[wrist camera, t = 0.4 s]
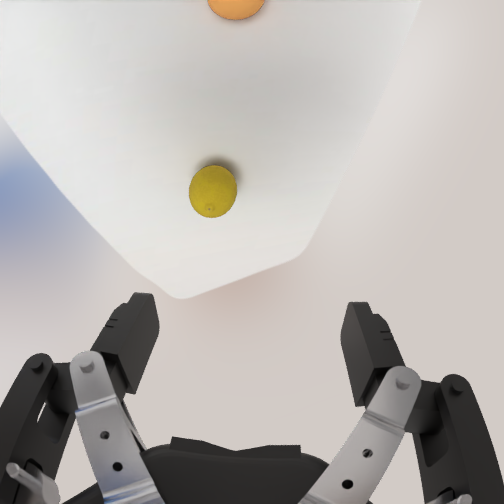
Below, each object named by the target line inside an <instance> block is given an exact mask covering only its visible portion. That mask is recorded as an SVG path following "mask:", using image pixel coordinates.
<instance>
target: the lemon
mask: <svg viewBox="0 0 504 504" xmlns="http://www.w3.org/2000/svg"><path fill="white" fill-rule="evenodd" d="M236 195H237V185H236V182H235V179H234V177H233V175H232V174H231V173H230V172H229V171H228V170H227V169H225V168H223V167H221V166H217V165H211V166H207V167H204V168H202V169H201V170H200V171H198V172H197V173H196V174H195V176H194V177H193V179H192V181H191V184H190V187H189V198H190V202H191V205H192V207H193V208H194V210H195V211H196V212H197V213H199V214H200V215H202V216H204V217H209V218H216V217H219V216H222V215H224V214H225V213H226V212H227V211H229V210H230V208H231V207H232V205H233V203H234V202H235V198H236Z"/></svg>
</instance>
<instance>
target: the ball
mask: <svg viewBox="0 0 504 504" xmlns="http://www.w3.org/2000/svg"><path fill="white" fill-rule="evenodd" d="M208 3H209V6H210V8H211V9H212V10H213V11H214V12H215V13H216V14H217V15H219V16H221V17H223V18H226V19H233V20H238V19H244V18H247V17H250V16H252V15H253V14H255V13H256V12H257V11H258V10H259V9H260V8H261V7H262V5H263V3H264V0H208Z"/></svg>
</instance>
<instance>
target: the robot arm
mask: <svg viewBox="0 0 504 504" xmlns="http://www.w3.org/2000/svg"><path fill="white" fill-rule="evenodd" d="M158 334H159V320H158V315H157V310H156V305H155V301H154V297H153V295H152V294H149V293H137V292H135V293H134V294H133V295H132V297H131V298H130V300H129V302H128V303H123V304H121V305H120V306H119V307H117V308H116V309H115V310H114V312H113V313H112V314H111V316H110V318H109V320H108V321H107V323H106V324H105V327H103V329H102V331H101V332H100V334H99V336H98V338H97V339H96V341H95V343H94V344H93V346H92V348H91V349H90V351H85V352H81V353H79V354H78V355H76V356H75V357H74V358H73V360H72V361H71V362H69V363H53V361H52V359H51V358H50V356H49V355H47V354H43V353H39V354H35V355H33V356H31V357H30V358H29V359H28V360H27V361H26V362H25V364H24V366H23V367H22V369H21V371H20V372H19V374H18V376H17V378H16V379H15V381H14V383H13V385H12V387H11V388H10V390H9V392H8V394H7V396H6V398H5V400H4V402H3V403H2V405H1V407H0V504H59V502H60V495H59V491H58V487H57V485H56V483H55V481H54V480H55V477H56V474H57V470H58V467H59V464H60V461H61V458H62V455H63V452H64V449H65V446H66V443H67V440H68V438H69V435H70V432H71V429H72V427H73V424H74V421H75V419H77V422H78V426H79V430H80V433H81V436H82V440H83V443H84V446H85V449H86V452H87V455H88V458H89V461H90V464H91V466H92V469H93V472H94V475H95V477H96V480H97V483H96V484H94V485H92V486H91V487H89V488H87V489H86V490H84V491H83V492H81V493H79V494H78V495H76V496H74V497H73V498H71V499H69V500H68V501H66V502H64V503H63V504H373V503H372V502H370V501H369V498H370V497H371V495H372V493H373V492H374V490H375V489H376V487H377V485H378V484H379V482H380V480H381V478H382V477H383V475H384V473H385V471H386V469H387V468H388V466H389V464H390V462H391V460H392V458H393V456H394V454H395V452H396V450H397V448H398V446H399V444H400V442H401V440H402V438H403V436H404V433H405V432H409V433H412V435H413V440H414V444H415V449H416V454H417V459H418V464H419V470H420V476H421V481H422V487H423V494H424V502H425V504H504V484H503V479H502V475H501V471H500V468H499V464H498V461H497V457H496V454H495V451H494V447H493V444H492V441H491V438H490V435H489V432H488V429H487V426H486V424H485V421H484V418H483V416H482V413H481V411H480V408H479V405H478V403H477V400H476V398H475V395H474V393H473V390H472V388H471V386H470V384H469V382H468V381H467V380H466V379H465V378H464V377H462V376H460V375H456V374H450V375H447V376H445V377H444V378H443V380H442V381H441V383H436V382H430V381H424V380H421V379H420V377H419V375H418V374H417V373H416V372H415V371H414V370H412V369H410V368H408V367H406V366H405V364H404V361H403V359H402V356H401V354H400V351H399V349H398V347H397V344H396V342H395V340H394V337H393V335H392V333H391V331H390V328H389V326H388V324H387V322H386V321H385V320H384V319H383V318H382V317H381V316H380V315H379V314H373V313H372V311H371V308H370V306H369V304H368V303H367V302H349V304H348V306H347V310H346V314H345V318H344V322H343V326H342V329H341V346H342V350H343V354H344V358H345V362H346V366H347V371H348V375H349V379H350V384H351V388H352V393H353V397H354V402H355V406H356V407H357V406H365V409H366V411H365V412H364V414H363V416H362V417H361V419H360V420H359V422H358V424H357V425H356V427H355V428H354V430H353V431H352V433H351V434H350V436H349V437H348V439H347V441H346V442H345V443H344V445H343V447H342V448H341V449H340V451H339V452H338V453H337V455H336V456H335V458H334V459H333V461H332V462H331V463H330V464H328V463H326V462H325V461H323V460H321V459H319V458H317V457H315V456H311V455H309V454H305V453H301V449H300V448H301V447H300V445H267V446H262V447H257V448H251V449H245V450H239V451H233V450H229V449H226V448H223V447H220V446H216V445H213V444H210V443H208V442H205V441H200V440H193V439H185V438H179V437H172V439H171V443H170V444H165V445H160V446H156V447H152V448H150V449H147V448H146V447H145V445H144V443H143V441H142V440H141V438H140V436H139V434H138V432H137V429H136V427H135V425H134V423H133V421H132V418H131V416H130V414H129V412H128V410H127V407H126V404H125V402H124V400H123V398H124V396H125V393H130V394H136V391H137V388H138V385H139V383H140V380H141V378H142V375H143V372H144V370H145V367H146V365H147V362H148V359H149V357H150V354H151V352H152V349H153V347H154V345H155V342H156V339H157V337H158ZM44 402H45V403H46V405H45V407H44V409H43V411H42V414H41V416H40V418H39V421H38V423H37V419H38V415H39V413H40V411H41V409H42V407H43V404H44Z"/></svg>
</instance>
